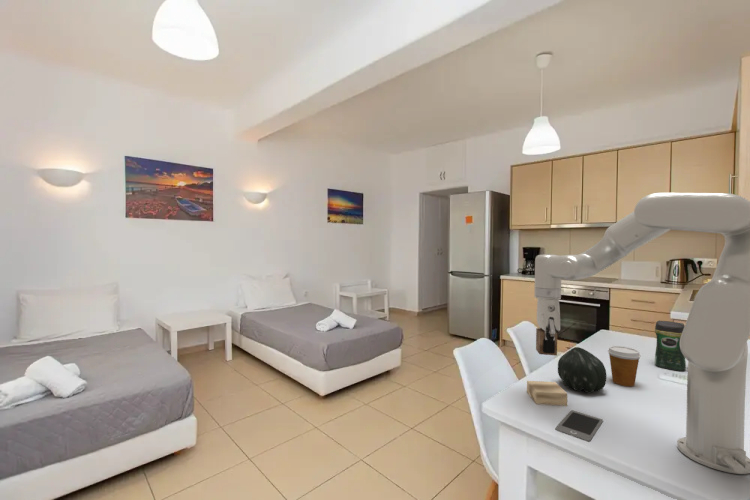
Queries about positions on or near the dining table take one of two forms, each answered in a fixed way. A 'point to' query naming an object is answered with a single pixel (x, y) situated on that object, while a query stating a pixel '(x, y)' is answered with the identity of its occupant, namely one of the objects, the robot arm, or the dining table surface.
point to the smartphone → (579, 425)
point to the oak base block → (546, 393)
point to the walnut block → (540, 342)
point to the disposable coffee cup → (624, 365)
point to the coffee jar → (669, 345)
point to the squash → (582, 370)
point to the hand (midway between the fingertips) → (546, 349)
